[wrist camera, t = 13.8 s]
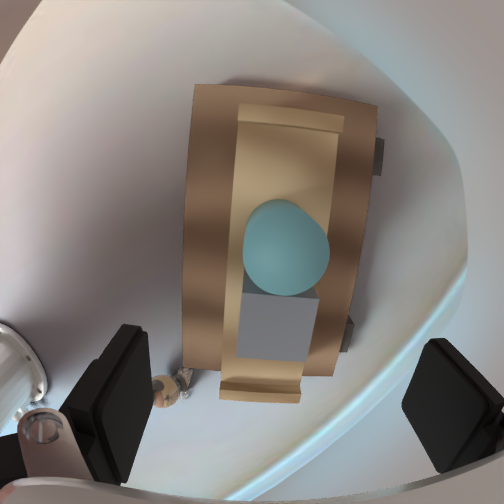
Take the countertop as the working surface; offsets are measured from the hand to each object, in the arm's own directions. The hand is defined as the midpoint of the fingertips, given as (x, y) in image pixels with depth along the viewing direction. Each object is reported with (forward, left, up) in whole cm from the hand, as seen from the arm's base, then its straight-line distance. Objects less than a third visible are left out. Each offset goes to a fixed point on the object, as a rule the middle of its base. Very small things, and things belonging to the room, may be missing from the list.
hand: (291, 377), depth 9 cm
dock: (0, 0, -18) cm, 18 cm away
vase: (-16, +9, -19) cm, 26 cm away
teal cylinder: (+2, 0, -11) cm, 11 cm away
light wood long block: (0, 0, -15) cm, 15 cm away
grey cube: (-2, 0, -11) cm, 11 cm away
